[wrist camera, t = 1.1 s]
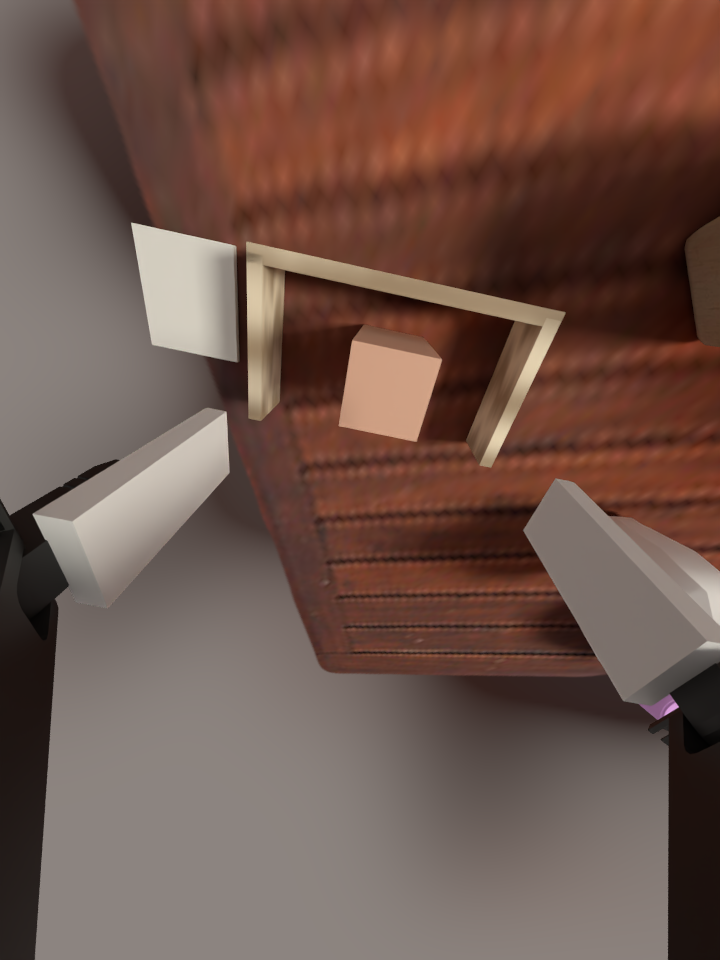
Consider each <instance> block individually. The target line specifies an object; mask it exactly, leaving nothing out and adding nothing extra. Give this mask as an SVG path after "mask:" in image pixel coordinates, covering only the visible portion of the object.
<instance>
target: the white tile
mask: <svg viewBox="0 0 720 960" xmlns="http://www.w3.org/2000/svg"><path fill="white" fill-rule="evenodd" d="M131 225H132V231H133V236H134V242H135V248H136V254H137V260H138V266H139V271H140V278H141V284H142V290H143V295H144V301H145V307H146V313H147V318H148V325H149V331H150V336H151V342H152V345H156V346H161V347H166V348H170V349H175V350H180V351H185V352H190V353H195V354H199V355H204V356H209V357H213V358H218V359H223V360H228V361H233V362H239V325H238V289H237V252H236V246H234V245H230V244H225V243H221V242H216V241H212V240H207V239H203V238H198V237H194V236H189V235H185V234H180V233H176V232H171V231H167V230H162V229H158V228H153V227H148V226H144V225H140V224H135V223H131Z"/></svg>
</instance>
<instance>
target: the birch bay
mask: <svg viewBox="0 0 720 960" xmlns="http://www.w3.org/2000/svg"><path fill="white" fill-rule="evenodd" d="M246 256H247V331H248V406H249V419H254V420H259V421H261V420H262V419H263V418H264V417H265V416H266V415H267V414H268V413H269V412H270V411H271V410H272V409H273V408H274V407H275V406H276V405H277V404H278V403H279V402H280V379H281V356H282V332H283V309H284V286H285V270H286V271H291V272H295V273H300V274H304V275H309V276H313V277H318V278H322V279H327V280H332V281H336V282H341V283H345V284H350V285H354V286H359V287H363V288H368V289H372V290H377V291H382V292H386V293H391V294H395V295H400V296H404V297H409V298H413V299H418V300H423V301H427V302H432V303H436V304H441V305H445V306H450V307H454V308H459V309H464V310H468V311H473V312H477V313H482V314H486V315H491V316H495V317H500V318H504V319H509V320H514V321H515V322H514V324H513V327H512V329H511V331H510V334H509V336H508V339H507V341H506V344H505V346H504V349H503V351H502V354H501V356H500V358H499V361H498V363H497V366H496V368H495V371H494V373H493V376H492V378H491V380H490V383H489V385H488V388H487V390H486V393H485V395H484V398H483V400H482V402H481V405H480V407H479V410H478V412H477V415H476V417H475V420H474V422H473V424H472V427H471V429H470V432H469V434H468V437H467V439H466V441H467V443H468V445H469V447H470V449H471V451H472V453H473V454H474V456H475V458H476V460H477V462H478V464H479V465H481V466H486V467H491V466H492V464H493V462H494V460H495V458H496V456H497V454H498V452H499V450H500V448H501V446H502V444H503V442H504V440H505V437H506V435H507V433H508V431H509V429H510V427H511V425H512V423H513V421H514V419H515V417H516V415H517V413H518V411H519V408H520V406H521V404H522V402H523V400H524V398H525V396H526V394H527V392H528V390H529V388H530V386H531V384H532V382H533V379H534V377H535V375H536V373H537V371H538V369H539V367H540V365H541V363H542V361H543V359H544V357H545V355H546V353H547V350H548V348H549V346H550V344H551V342H552V340H553V338H554V336H555V334H556V332H557V330H558V328H559V326H560V324H561V321H562V319H563V317H564V315H565V313H566V312H561V311H557V310H552V309H548V308H543V307H539V306H534V305H530V304H525V303H521V302H516V301H512V300H507V299H503V298H498V297H494V296H489V295H485V294H480V293H476V292H471V291H467V290H462V289H458V288H453V287H449V286H444V285H440V284H435V283H431V282H426V281H422V280H417V279H413V278H408V277H404V276H399V275H395V274H390V273H386V272H381V271H377V270H372V269H368V268H363V267H359V266H354V265H349V264H345V263H340V262H336V261H331V260H327V259H322V258H318V257H313V256H309V255H304V254H300V253H295V252H291V251H286V250H282V249H277V248H273V247H268V246H264V245H259V244H255V243H250V242H246Z"/></svg>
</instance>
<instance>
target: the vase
mask: <svg viewBox="0 0 720 960" xmlns="http://www.w3.org/2000/svg"><path fill="white" fill-rule="evenodd" d="M609 517H610V518H611V519H612V520H613V521H614V522H615V523H616V524H617V525H618V526H619V527H620V528H621V529H622V530H623V531H624V532H625V533H626V534H627V535H628V536H629V537H630V538H631V539H632V540H633V541H634V542H635V543H636V544H637V545H638V546H639V547H640V548H641V549H642V550H643V551H644V552H645V553H646V554H647V555H648V556H649V557H650V558H651V559H652V560H653V561H654V562H655V563H656V564H657V565H658V566H659V567H660V568H661V569H662V570H664V571H665V572H666V573H667V574H668V575H669V576H670V577H671V578H672V579H673V580H674V581H675V582H676V583H677V584H678V585H679V586H680V587H681V588H682V589H683V590H684V591H685V592H686V593H687V594H688V595H689V596H690V597H691V598H692V599H693V600H694V601H695V602H696V603H697V604H698V605H699V606H700V607H701V608H702V609H703V610H704V611H705V612H706V613H707V614H708V615H709V616H710V617H711V618H712V619H713V620H714V621H715V622H716V623H717V624H718V625H719V626H720V571H718V570H717V569H716V568H715V567H714V566H712V565H711V564H710V563H709V562H708V561H706V560H705V559H704V558H703V557H702V556H700V555H699V554H698V553H697V552H695V551H693V550H691V549H689V548H688V547H686V546H684V545H682V544H680V543H678V542H676V541H674V540H672V539H670V538H668V537H666V536H664V535H662V534H660V533H658V532H656V531H655V530H653V529H651V528H648V527H646V526H644V525H642V524H640V523H639V522H637V521H636V520H634V519H633V518H628V517H618V516H609ZM582 632H583V631H582ZM583 634H584V633H583ZM584 636H585V635H584ZM586 639H587V638H586ZM587 641H588V640H587ZM588 643H589V642H588ZM589 644H590V643H589ZM590 646H591V645H590ZM591 648H592V647H591ZM592 650H593V648H592ZM593 651H594V650H593ZM594 653H595V652H594ZM595 655H596V654H595ZM596 656H597V655H596ZM597 658H598V657H597ZM598 660H599V659H598ZM599 661H600V660H599Z"/></svg>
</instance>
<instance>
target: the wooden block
mask: <svg viewBox="0 0 720 960" xmlns="http://www.w3.org/2000/svg"><path fill="white" fill-rule="evenodd" d="M684 249H685V256H686V263H687V270H688V277H689V283H690V290H691V297H692V304H693V311H694V318H695V324H696V331H697V337H698V338H699V340H700V341H701V342H702V343H703V344H705V345H710V346H716V347H720V216H719V217H717V218H716V219H714V220H713V221H711V222H709V223H708V224H706V225H704V226H703V227H701V228H700V229H698V230H697V231H696V232H694V233H693V234H692V235H691V236H690V237H689V238H688V239H687V240H686V244H685V248H684Z"/></svg>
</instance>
